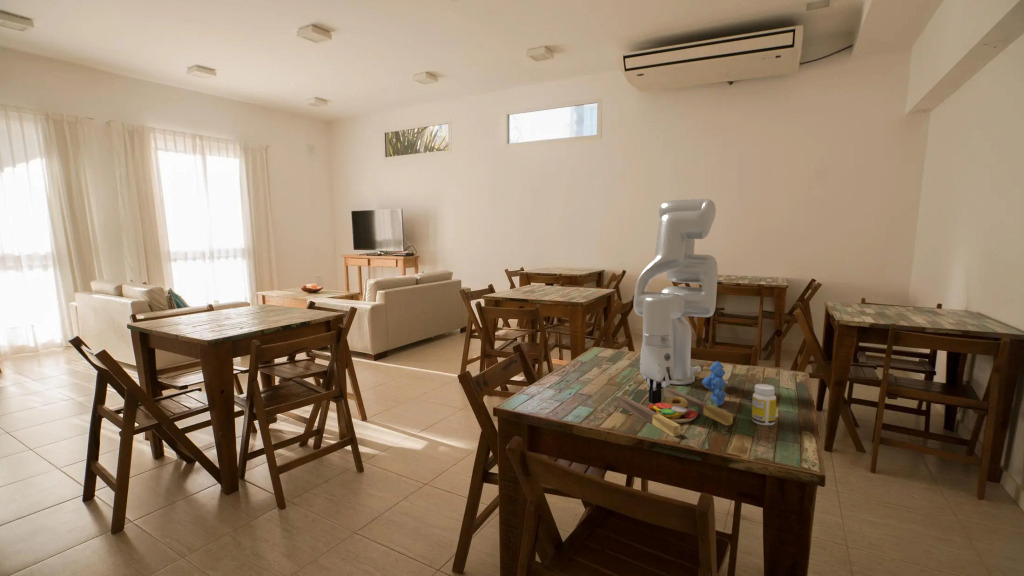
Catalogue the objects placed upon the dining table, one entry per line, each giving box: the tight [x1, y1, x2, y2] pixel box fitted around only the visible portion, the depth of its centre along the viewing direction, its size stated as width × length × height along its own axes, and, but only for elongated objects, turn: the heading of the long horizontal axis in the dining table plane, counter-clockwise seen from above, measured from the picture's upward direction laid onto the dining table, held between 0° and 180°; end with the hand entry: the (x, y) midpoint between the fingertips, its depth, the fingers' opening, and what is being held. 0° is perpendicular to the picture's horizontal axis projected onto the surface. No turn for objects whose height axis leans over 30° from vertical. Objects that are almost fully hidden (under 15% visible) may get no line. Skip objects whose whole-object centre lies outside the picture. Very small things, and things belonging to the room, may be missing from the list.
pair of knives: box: [616, 387, 734, 437], centre depth 129 cm, size 19×24×2 cm
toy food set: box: [647, 396, 699, 424], centre depth 128 cm, size 13×13×3 cm
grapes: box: [701, 360, 727, 407], centre depth 137 cm, size 12×7×12 cm, turn 166°
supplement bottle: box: [751, 383, 777, 426], centre depth 122 cm, size 6×5×10 cm
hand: (654, 402), depth 135 cm, fingers closed
